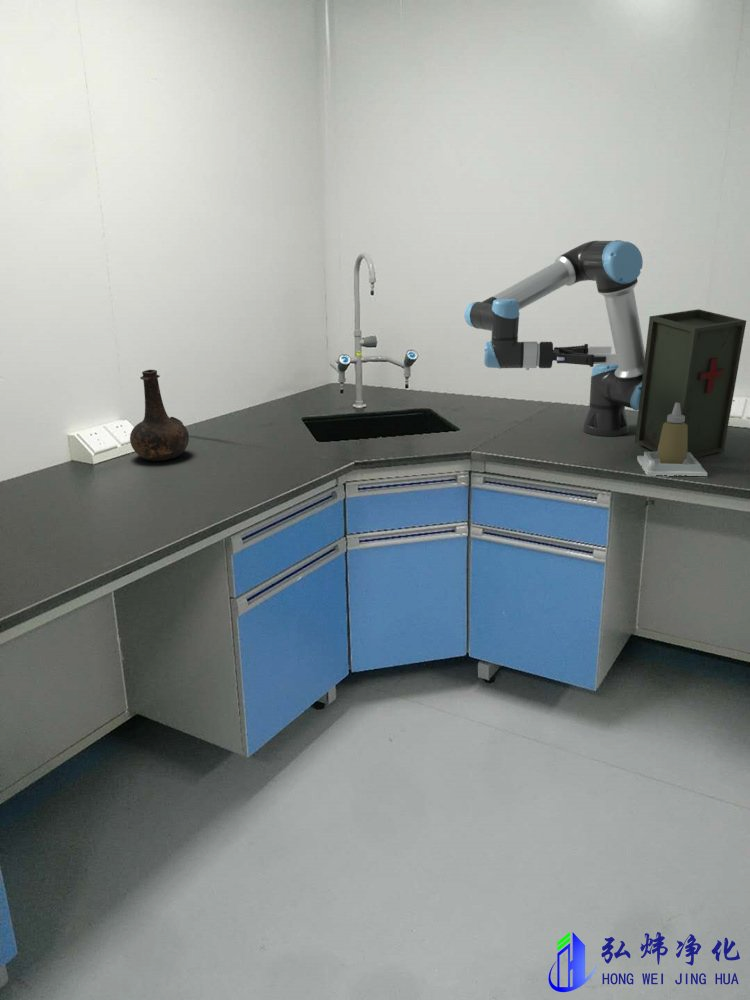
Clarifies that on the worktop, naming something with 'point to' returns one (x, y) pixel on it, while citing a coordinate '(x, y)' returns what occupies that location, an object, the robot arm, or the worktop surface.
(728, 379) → the first aid box
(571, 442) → the worktop surface
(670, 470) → the holder plate
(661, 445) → the squeeze bottle
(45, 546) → the worktop surface
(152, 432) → the glass bottle
